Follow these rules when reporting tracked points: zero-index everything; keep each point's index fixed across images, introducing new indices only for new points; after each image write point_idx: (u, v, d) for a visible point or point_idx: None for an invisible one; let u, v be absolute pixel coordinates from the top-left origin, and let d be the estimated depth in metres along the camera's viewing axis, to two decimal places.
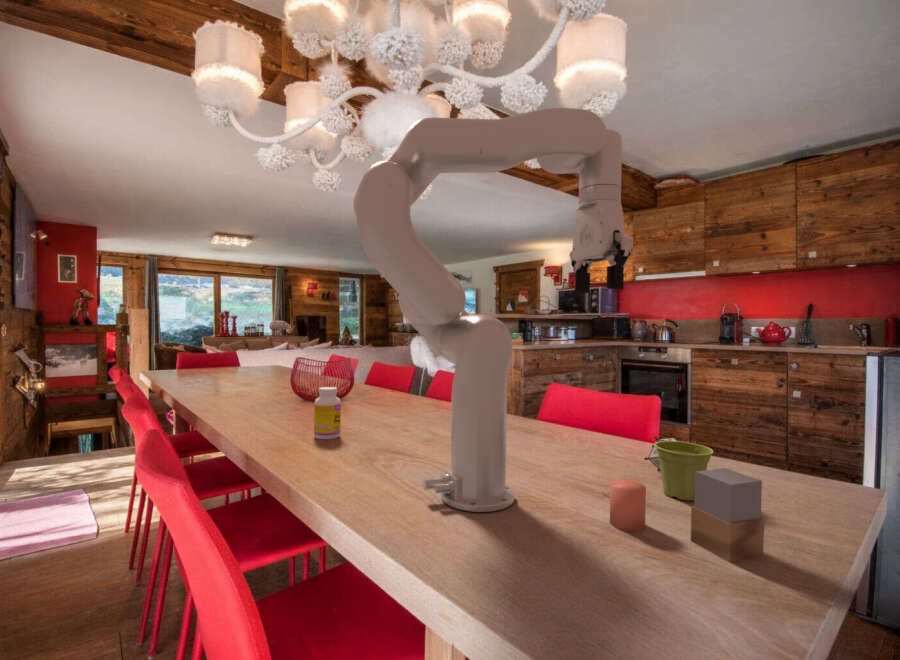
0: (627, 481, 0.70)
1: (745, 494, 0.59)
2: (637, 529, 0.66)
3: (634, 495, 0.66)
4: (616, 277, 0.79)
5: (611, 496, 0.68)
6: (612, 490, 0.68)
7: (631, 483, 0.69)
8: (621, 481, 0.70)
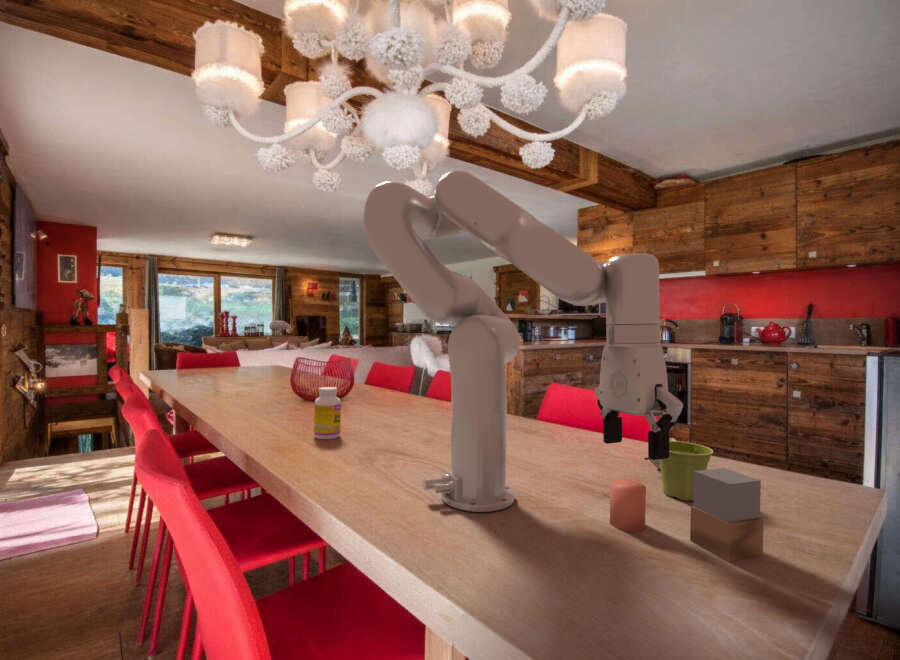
0: (627, 481, 0.70)
1: (744, 494, 0.59)
2: (637, 529, 0.66)
3: (634, 495, 0.66)
4: (661, 446, 0.62)
5: (611, 496, 0.68)
6: (612, 490, 0.68)
7: (631, 483, 0.69)
8: (621, 481, 0.70)
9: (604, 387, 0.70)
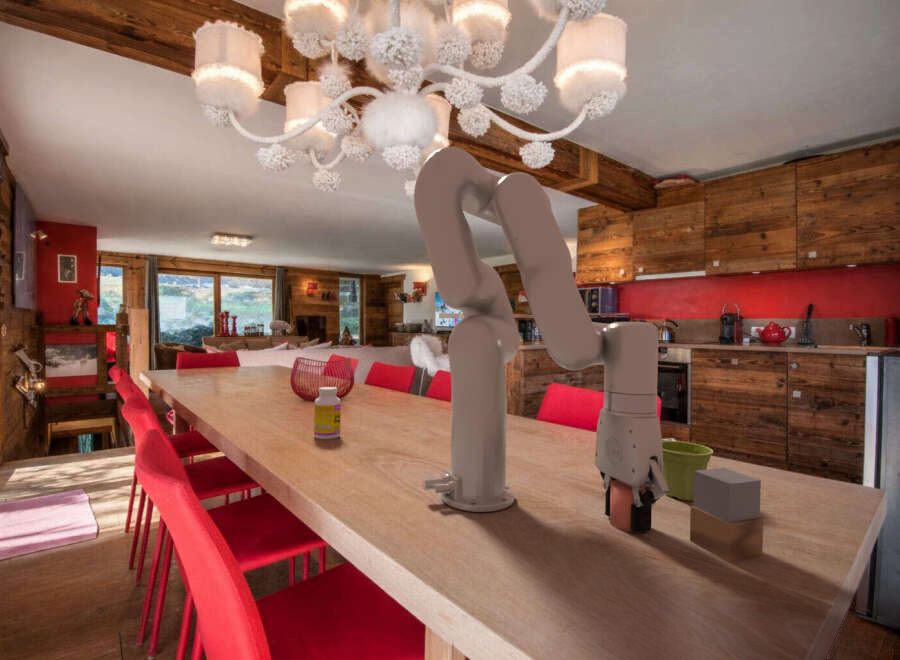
0: None
1: (744, 493, 0.59)
2: None
3: None
4: (643, 520, 0.64)
5: (611, 496, 0.68)
6: (612, 490, 0.68)
7: None
8: None
9: (599, 450, 0.70)
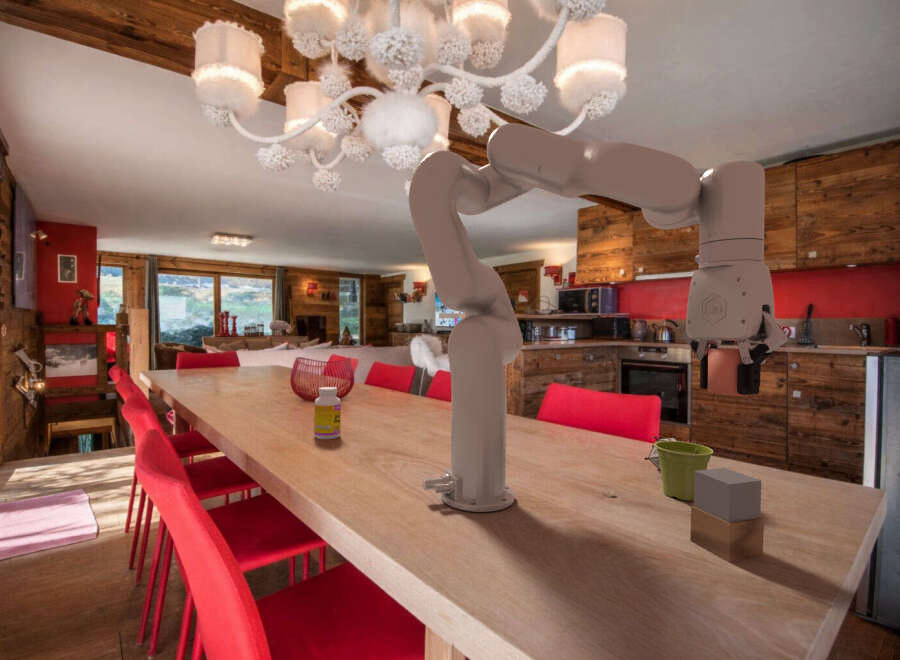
0: (725, 348, 0.63)
1: (744, 494, 0.59)
2: None
3: None
4: (752, 380, 0.57)
5: (711, 361, 0.61)
6: (712, 354, 0.61)
7: None
8: (719, 348, 0.63)
9: (694, 315, 0.63)
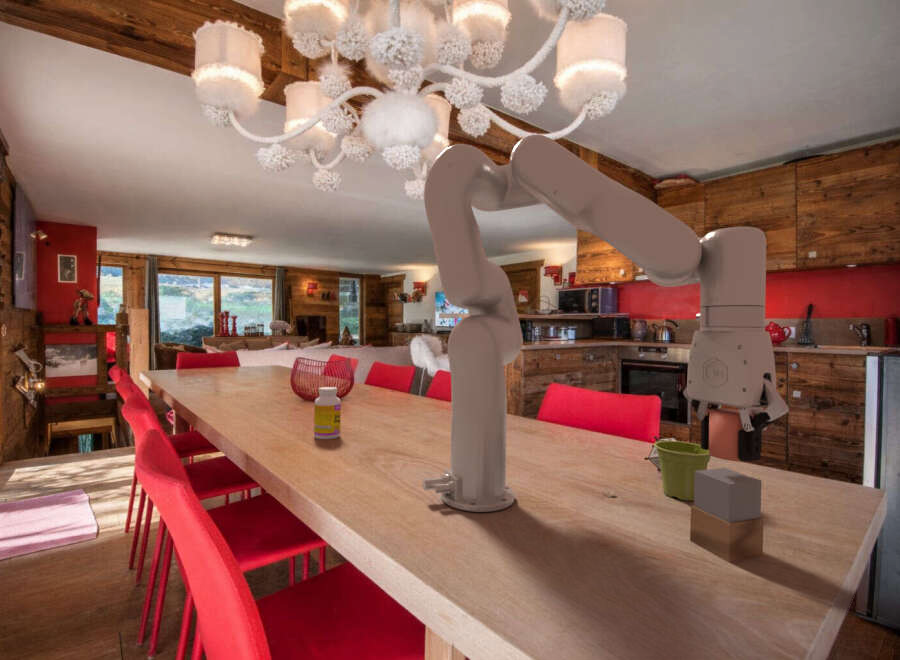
0: (726, 409, 0.63)
1: (744, 494, 0.59)
2: None
3: None
4: (753, 447, 0.57)
5: (712, 424, 0.61)
6: (713, 417, 0.61)
7: (733, 410, 0.62)
8: (720, 409, 0.63)
9: (695, 376, 0.63)
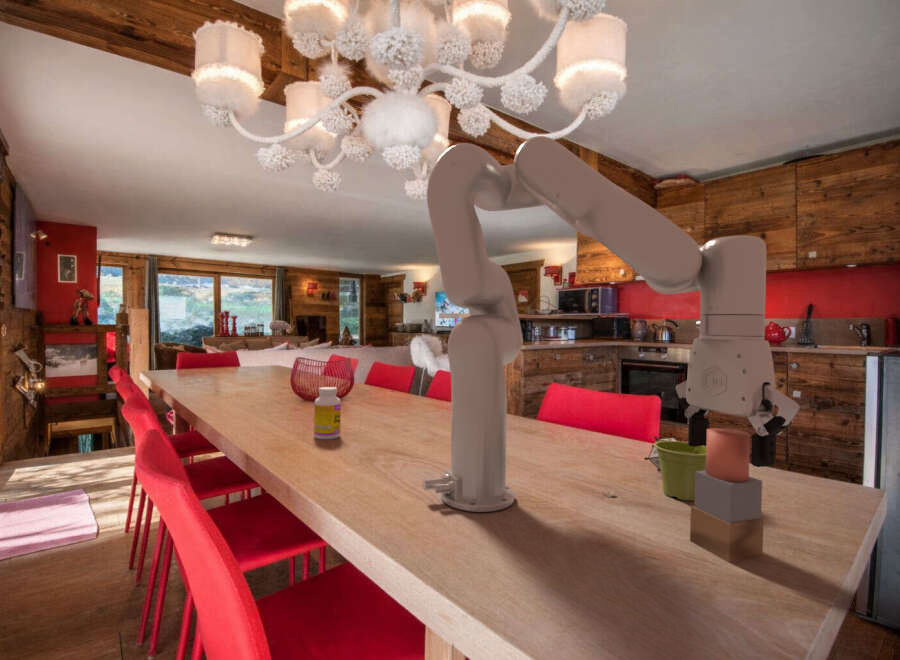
0: (724, 428, 0.63)
1: (745, 494, 0.59)
2: (742, 478, 0.59)
3: (739, 440, 0.59)
4: (768, 452, 0.56)
5: (709, 444, 0.61)
6: (710, 437, 0.61)
7: (730, 430, 0.62)
8: (717, 429, 0.63)
9: (694, 384, 0.63)
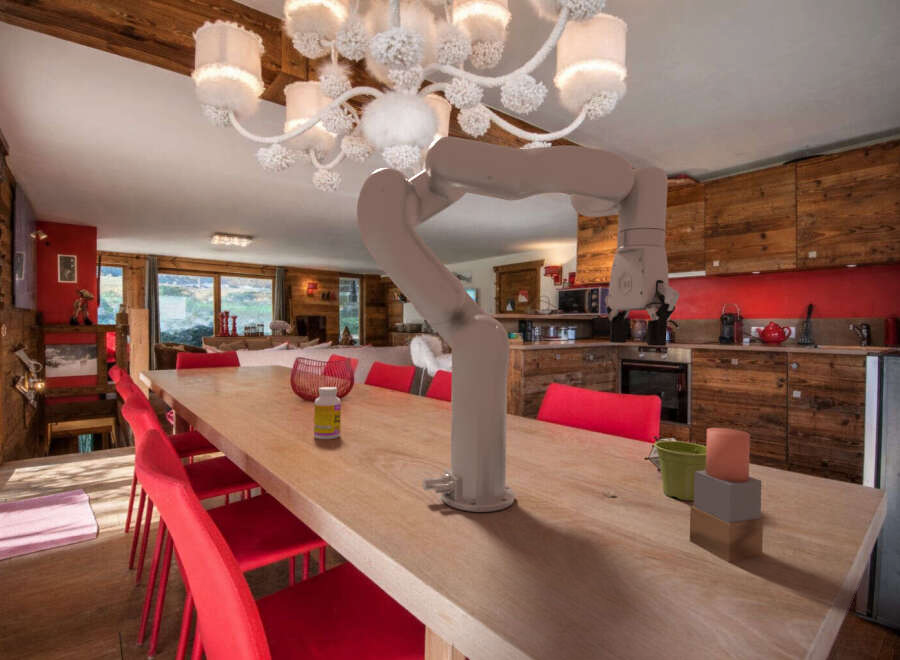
0: (724, 428, 0.63)
1: (744, 494, 0.59)
2: (742, 479, 0.59)
3: (739, 441, 0.59)
4: (658, 333, 0.71)
5: (709, 444, 0.61)
6: (711, 437, 0.61)
7: (730, 430, 0.62)
8: (718, 429, 0.63)
9: (613, 290, 0.79)
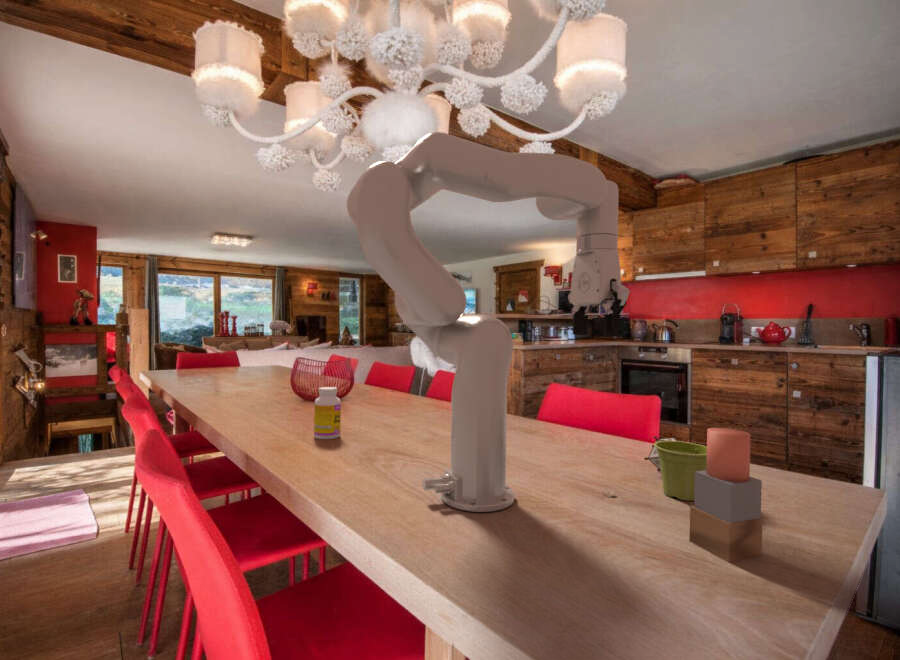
0: (724, 428, 0.63)
1: (745, 494, 0.59)
2: (743, 479, 0.59)
3: (741, 441, 0.59)
4: (613, 325, 0.82)
5: (710, 444, 0.61)
6: (712, 437, 0.61)
7: (730, 430, 0.62)
8: (718, 429, 0.63)
9: (574, 288, 0.89)
